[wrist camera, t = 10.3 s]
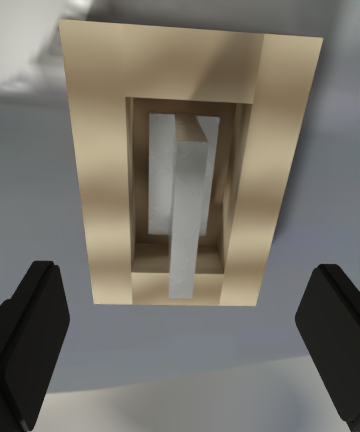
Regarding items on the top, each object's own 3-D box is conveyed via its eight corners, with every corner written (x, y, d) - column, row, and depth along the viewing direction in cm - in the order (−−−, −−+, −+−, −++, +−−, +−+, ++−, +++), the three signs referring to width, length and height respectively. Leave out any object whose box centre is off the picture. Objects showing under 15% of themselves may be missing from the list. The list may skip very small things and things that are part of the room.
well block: (82, 28, 18) (58, 19, 14) (291, 43, 19) (323, 37, 15) (104, 269, 28) (94, 303, 24) (243, 272, 29) (255, 305, 25)
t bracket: (150, 111, 21) (139, 138, 13) (217, 115, 21) (245, 144, 13) (149, 228, 25) (141, 297, 18) (204, 230, 26) (218, 298, 18)
